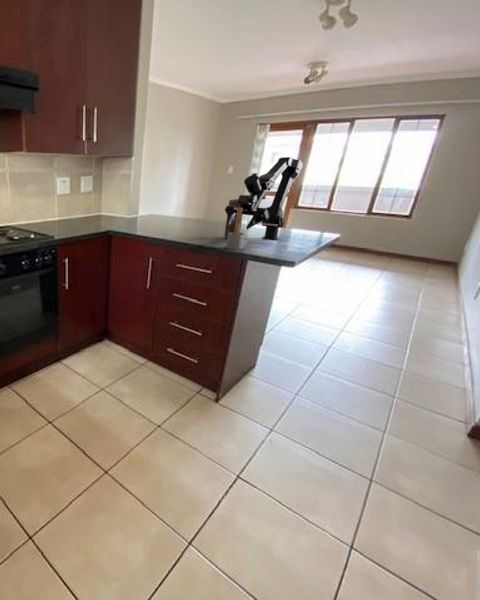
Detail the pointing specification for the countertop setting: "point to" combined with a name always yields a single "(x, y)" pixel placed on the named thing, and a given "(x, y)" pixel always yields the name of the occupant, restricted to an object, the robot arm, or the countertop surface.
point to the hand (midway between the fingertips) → (237, 227)
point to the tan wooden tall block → (232, 226)
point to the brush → (238, 221)
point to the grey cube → (235, 241)
